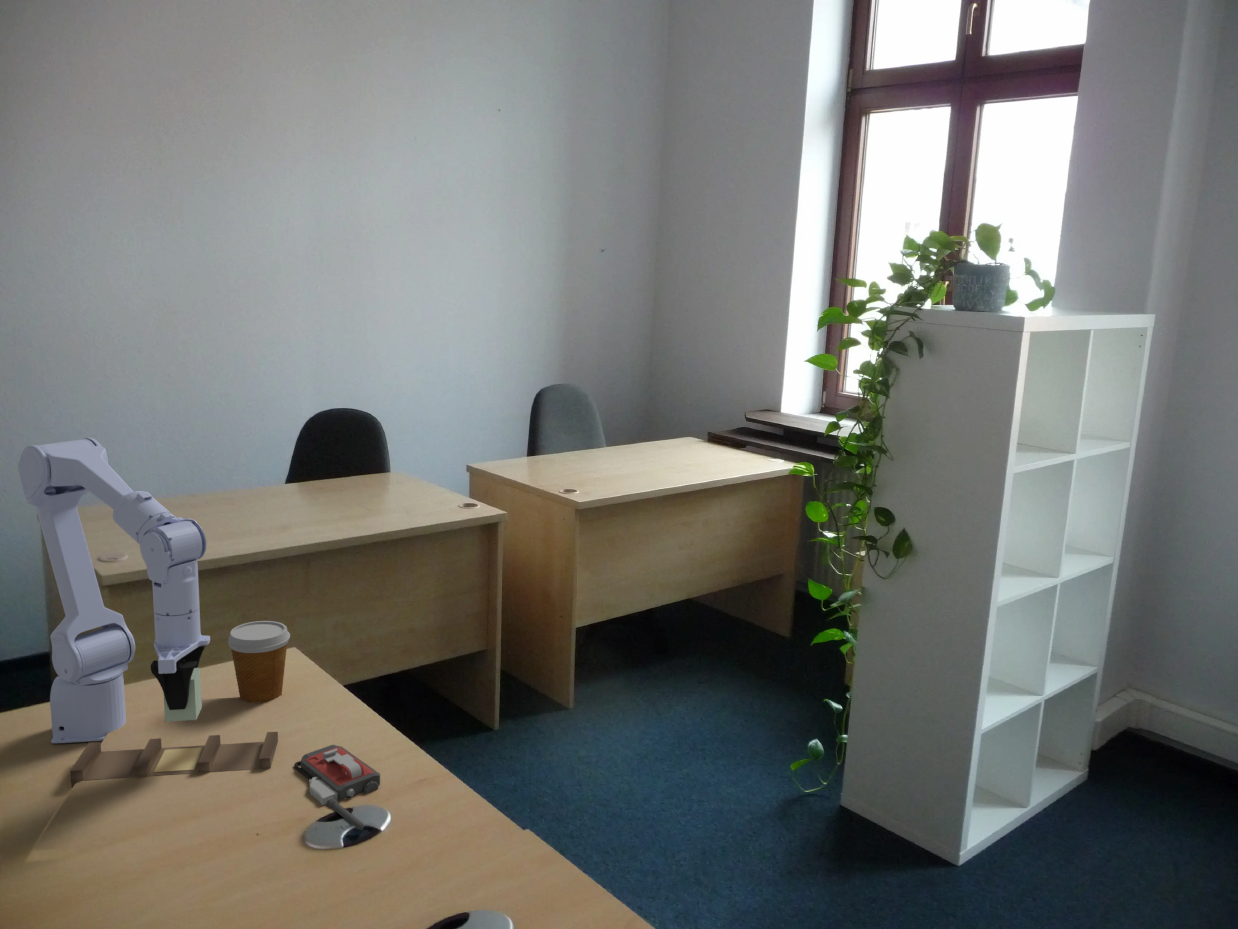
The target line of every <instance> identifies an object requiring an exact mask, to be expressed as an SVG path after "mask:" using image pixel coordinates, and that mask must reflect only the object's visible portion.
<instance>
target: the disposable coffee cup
mask: <svg viewBox="0 0 1238 929" xmlns="http://www.w3.org/2000/svg"><path fill="white" fill-rule="evenodd" d="M290 639H291V633H290V632H289V630H288V627H287V625H285V624H284V623H282V622H280V621H279V622H278V621H273V620H259V621H258V620H256V621H249V622H245V623H241V624H239V625H237V626H235V627H234V628H232V629H231V630H230V632H229V637H228V638H227V645H229V648H230V649H231V655H232V662H233V666H234V671H235V677H236V682H237V688H238V693H239V694H238V695H239V698H240V700H242V701H244V702H247V703H255V704H256V703H265V702H270V701H272V700H275V699H277V698H279V697H280V696H282V694H283V685H284V676H285V666H286V656H287V649H288V648H287V645H288V643H289V640H290Z"/></svg>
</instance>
